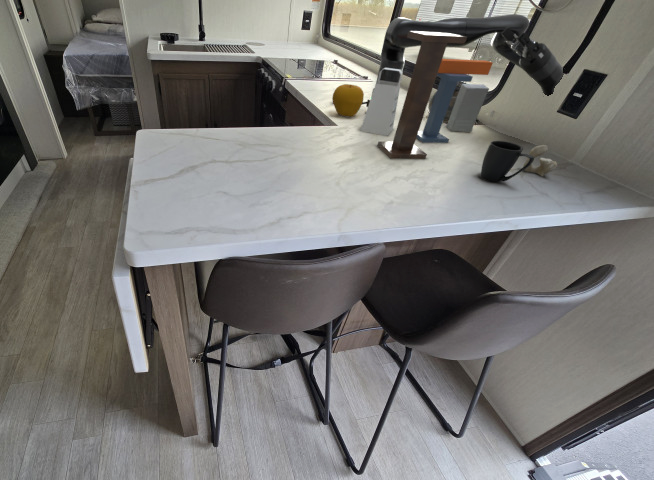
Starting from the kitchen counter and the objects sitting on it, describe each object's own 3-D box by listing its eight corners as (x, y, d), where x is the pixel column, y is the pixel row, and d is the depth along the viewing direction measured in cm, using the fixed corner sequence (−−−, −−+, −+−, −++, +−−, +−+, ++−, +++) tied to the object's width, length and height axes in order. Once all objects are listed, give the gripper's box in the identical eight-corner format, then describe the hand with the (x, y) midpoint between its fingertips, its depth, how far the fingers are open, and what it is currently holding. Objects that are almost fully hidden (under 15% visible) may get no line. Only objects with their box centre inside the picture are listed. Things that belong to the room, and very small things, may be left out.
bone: (562, 170, 105) (570, 143, 98) (547, 184, 105) (554, 158, 97) (533, 162, 111) (538, 136, 103) (519, 176, 111) (523, 150, 103)
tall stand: (409, 146, 121) (446, 32, 99) (425, 158, 112) (469, 37, 90) (377, 145, 119) (407, 30, 98) (390, 158, 110) (427, 35, 89)
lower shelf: (433, 133, 134) (456, 69, 120) (449, 143, 125) (475, 76, 111) (409, 132, 133) (429, 68, 119) (423, 143, 124) (447, 75, 110)
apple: (342, 120, 141) (348, 89, 133) (323, 112, 149) (328, 82, 141) (366, 118, 146) (373, 87, 138) (346, 110, 154) (352, 80, 146)
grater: (366, 124, 139) (380, 65, 125) (392, 128, 135) (409, 69, 122) (360, 130, 131) (373, 69, 118) (387, 135, 128) (404, 73, 115)
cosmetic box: (465, 128, 141) (483, 83, 131) (471, 133, 136) (491, 87, 125) (444, 126, 142) (461, 82, 131) (450, 131, 136) (467, 86, 126)
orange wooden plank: (481, 72, 118) (485, 60, 115) (488, 74, 115) (493, 62, 112) (415, 70, 115) (419, 57, 112) (421, 72, 112) (424, 59, 110)
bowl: (467, 122, 148) (477, 96, 142) (440, 124, 143) (450, 97, 137) (443, 113, 158) (452, 88, 151) (417, 115, 153) (425, 89, 146)
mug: (508, 191, 95) (527, 157, 89) (469, 175, 103) (484, 142, 96) (523, 186, 99) (543, 152, 92) (485, 171, 106) (500, 139, 100)
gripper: (536, 46, 118) (510, 16, 111) (564, 56, 108) (538, 23, 101) (515, 68, 122) (489, 40, 116) (541, 79, 113) (514, 50, 106)
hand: (512, 32), depth 109 cm, fingers open, 8 cm apart
